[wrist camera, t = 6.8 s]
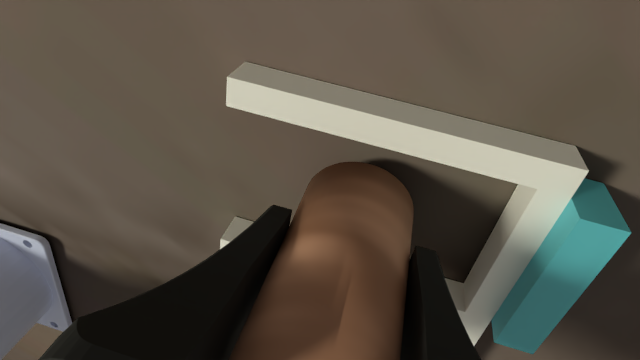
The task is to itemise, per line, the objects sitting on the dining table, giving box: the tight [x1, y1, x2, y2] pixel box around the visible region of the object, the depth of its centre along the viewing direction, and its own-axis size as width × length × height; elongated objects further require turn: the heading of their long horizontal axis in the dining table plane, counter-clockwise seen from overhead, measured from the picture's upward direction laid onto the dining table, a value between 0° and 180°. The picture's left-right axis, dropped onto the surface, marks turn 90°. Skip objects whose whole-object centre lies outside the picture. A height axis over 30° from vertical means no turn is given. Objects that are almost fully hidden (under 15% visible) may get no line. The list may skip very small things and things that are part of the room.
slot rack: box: [220, 62, 631, 354], centre depth 18 cm, size 12×17×2 cm
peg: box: [229, 162, 414, 360], centre depth 12 cm, size 4×4×8 cm
